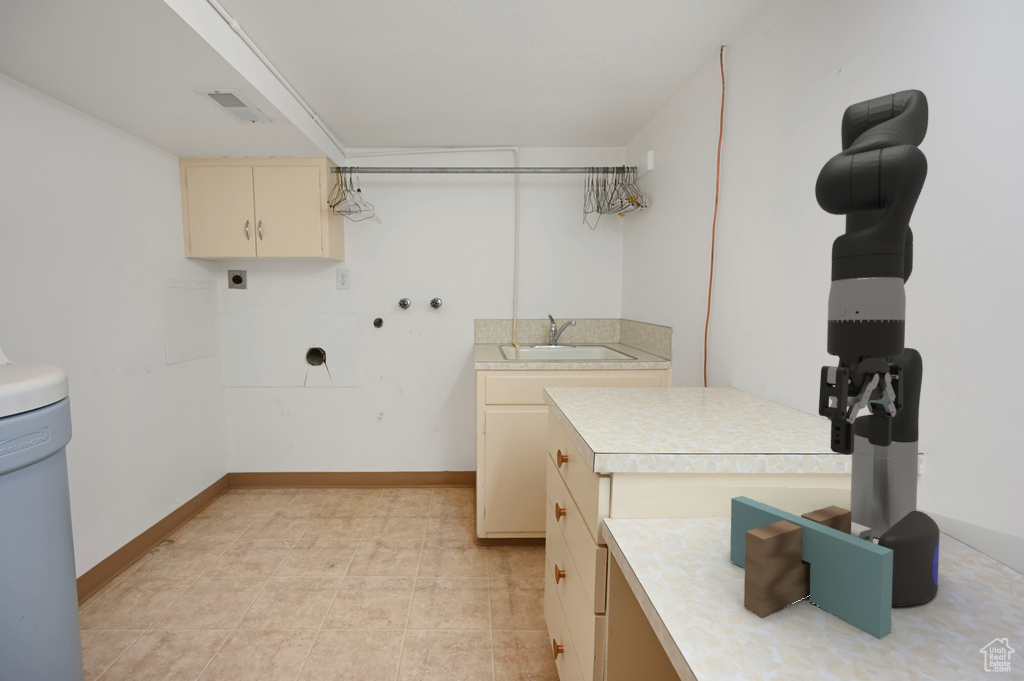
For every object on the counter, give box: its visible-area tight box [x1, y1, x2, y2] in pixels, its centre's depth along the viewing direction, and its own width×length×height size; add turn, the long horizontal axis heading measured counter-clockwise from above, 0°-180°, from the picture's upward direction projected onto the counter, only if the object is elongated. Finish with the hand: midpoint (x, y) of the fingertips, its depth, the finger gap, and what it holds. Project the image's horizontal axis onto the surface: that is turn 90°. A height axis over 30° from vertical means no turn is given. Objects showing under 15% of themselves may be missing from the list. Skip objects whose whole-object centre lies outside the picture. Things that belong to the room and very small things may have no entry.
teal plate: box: [729, 495, 893, 640], centre depth 63 cm, size 2×20×10 cm, turn 27°
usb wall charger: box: [851, 522, 874, 543], centre depth 78 cm, size 4×7×4 cm, turn 24°
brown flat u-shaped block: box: [743, 505, 852, 619], centre depth 63 cm, size 20×2×10 cm, turn 117°
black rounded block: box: [877, 510, 940, 607], centre depth 64 cm, size 16×5×9 cm, turn 126°
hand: (861, 449), depth 57 cm, fingers open, 8 cm apart
